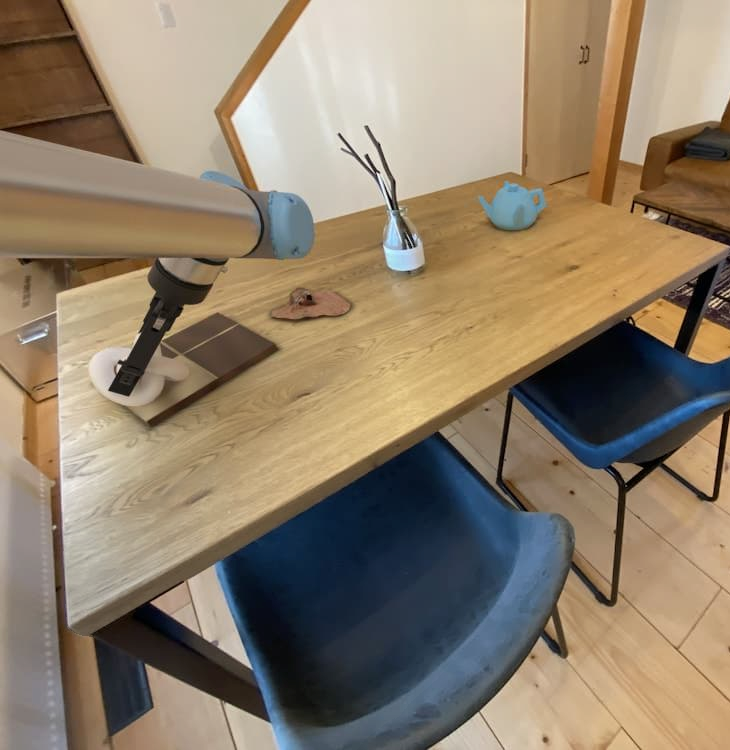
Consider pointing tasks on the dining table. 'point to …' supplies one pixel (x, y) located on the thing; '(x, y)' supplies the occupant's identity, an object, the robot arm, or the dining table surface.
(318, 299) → the clay slab
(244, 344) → the board
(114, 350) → the white knot sculpture
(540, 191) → the teapot
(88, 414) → the dining table surface
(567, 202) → the dining table surface
